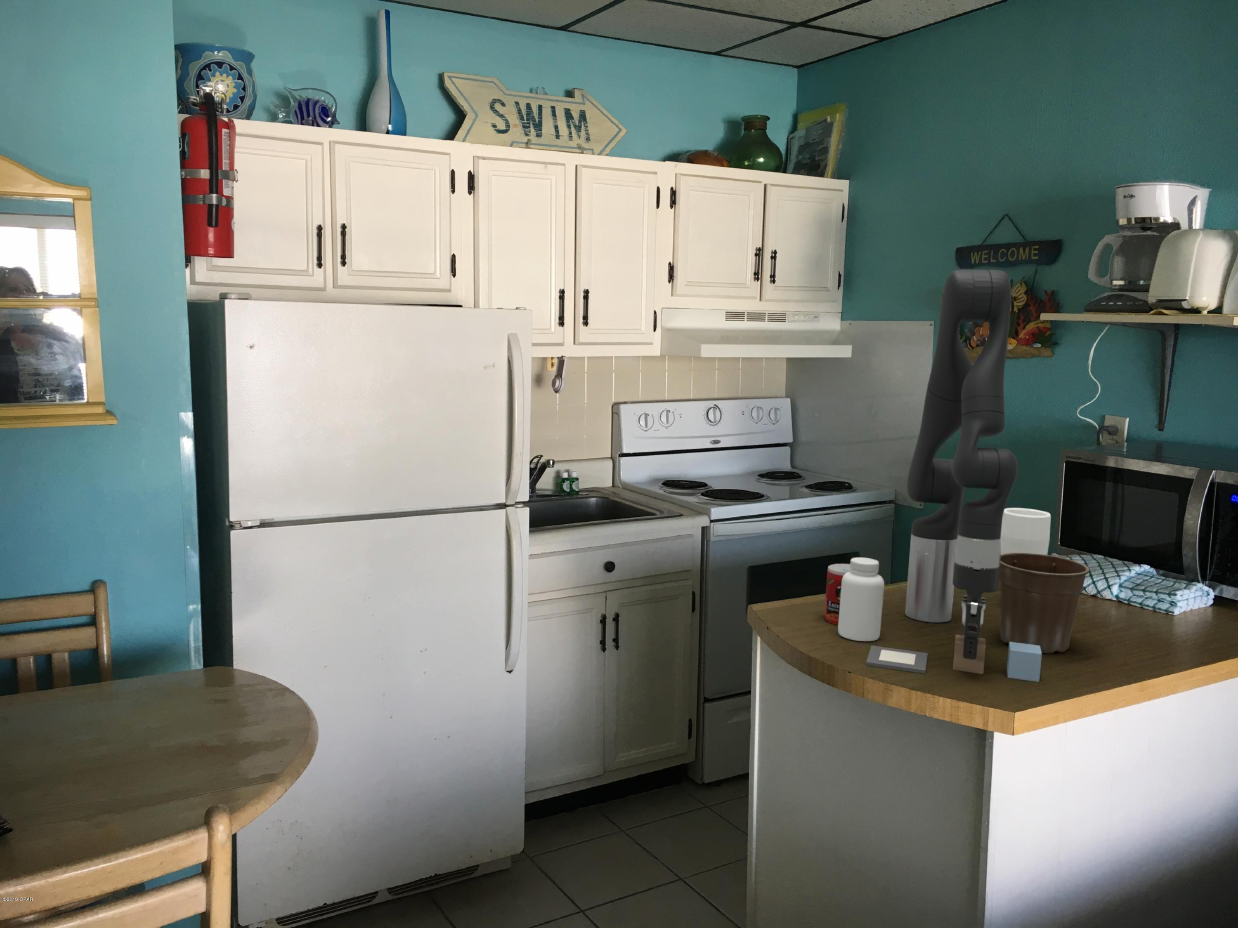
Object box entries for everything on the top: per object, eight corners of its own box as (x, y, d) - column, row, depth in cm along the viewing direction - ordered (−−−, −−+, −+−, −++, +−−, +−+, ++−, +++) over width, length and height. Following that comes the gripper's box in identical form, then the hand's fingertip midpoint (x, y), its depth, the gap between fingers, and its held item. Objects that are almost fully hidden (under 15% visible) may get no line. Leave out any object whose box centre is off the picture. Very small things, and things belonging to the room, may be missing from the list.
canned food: (821, 623, 196) (824, 569, 195) (828, 613, 204) (831, 561, 202) (859, 628, 194) (863, 574, 192) (865, 618, 201) (869, 566, 199)
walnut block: (953, 661, 176) (955, 634, 175) (982, 665, 174) (985, 638, 174) (952, 669, 171) (955, 642, 171) (983, 674, 170) (985, 646, 169)
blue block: (1006, 668, 173) (1009, 641, 172) (1037, 672, 171) (1039, 645, 171) (1007, 677, 168) (1010, 649, 168) (1039, 682, 167) (1041, 654, 166)
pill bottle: (881, 644, 184) (887, 566, 182) (838, 640, 186) (843, 563, 184) (878, 631, 192) (884, 557, 190) (837, 627, 193) (842, 554, 191)
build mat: (871, 648, 181) (871, 644, 181) (927, 656, 178) (927, 652, 178) (865, 665, 172) (866, 661, 172) (925, 673, 169) (925, 669, 169)
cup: (1047, 608, 213) (1056, 511, 210) (1038, 619, 205) (1048, 518, 202) (997, 600, 219) (1005, 505, 216) (987, 610, 210) (995, 512, 207)
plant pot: (1087, 662, 178) (1096, 576, 175) (992, 651, 182) (1000, 567, 180) (1073, 637, 193) (1081, 557, 191) (986, 627, 198) (993, 549, 195)
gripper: (955, 551, 178) (948, 637, 180) (953, 567, 165) (946, 660, 167) (998, 556, 176) (991, 643, 178) (1001, 572, 162) (993, 666, 164)
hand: (969, 651), depth 172 cm, fingers open, 8 cm apart
